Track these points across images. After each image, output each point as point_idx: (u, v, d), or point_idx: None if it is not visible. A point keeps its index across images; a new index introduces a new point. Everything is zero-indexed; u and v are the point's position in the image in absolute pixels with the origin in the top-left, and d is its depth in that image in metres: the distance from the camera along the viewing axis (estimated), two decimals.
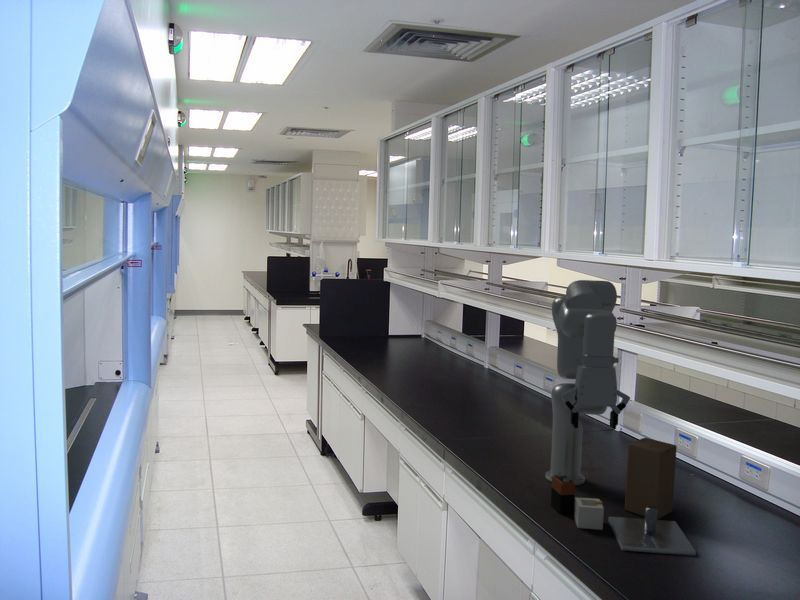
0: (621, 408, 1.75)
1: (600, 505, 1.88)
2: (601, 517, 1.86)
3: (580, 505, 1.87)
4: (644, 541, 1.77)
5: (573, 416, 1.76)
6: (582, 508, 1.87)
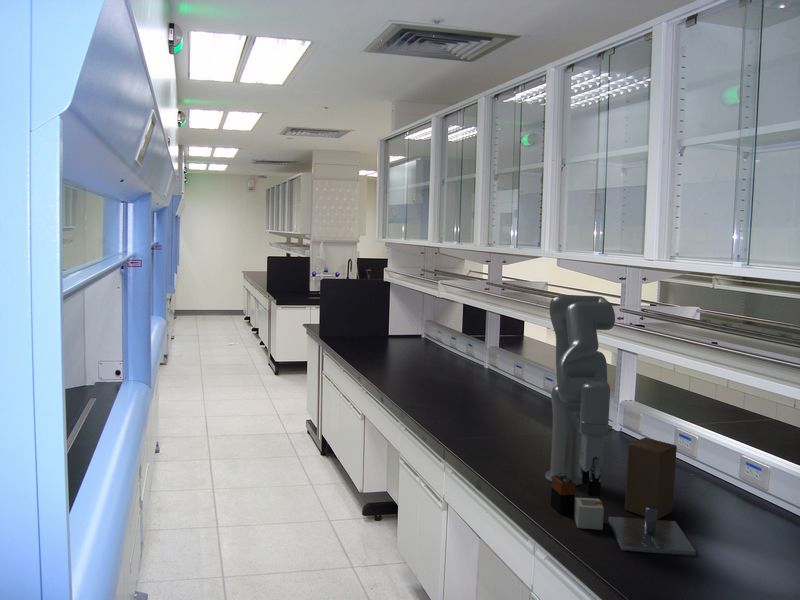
0: None
1: (600, 505, 1.88)
2: (601, 517, 1.86)
3: (580, 505, 1.87)
4: (644, 541, 1.77)
5: None
6: (582, 508, 1.87)
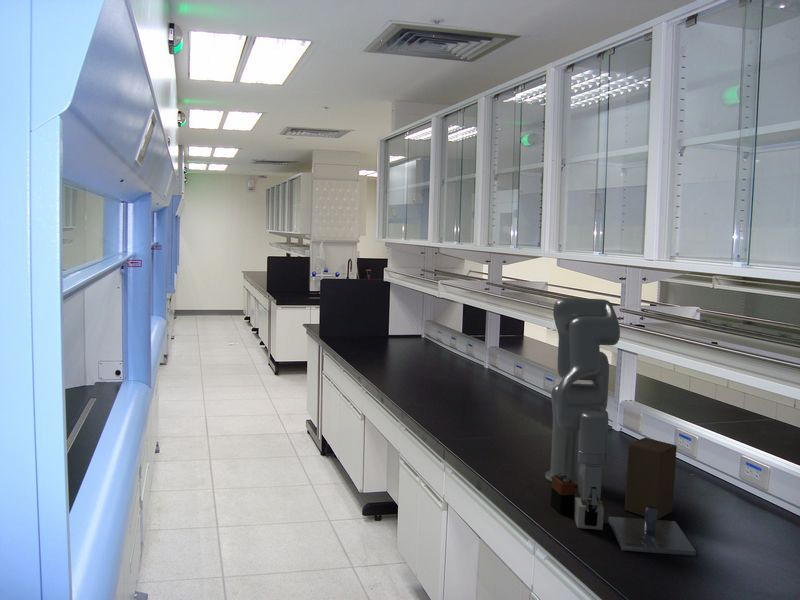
0: None
1: (600, 505, 1.88)
2: (601, 517, 1.86)
3: (580, 505, 1.87)
4: (644, 541, 1.77)
5: None
6: (582, 508, 1.87)
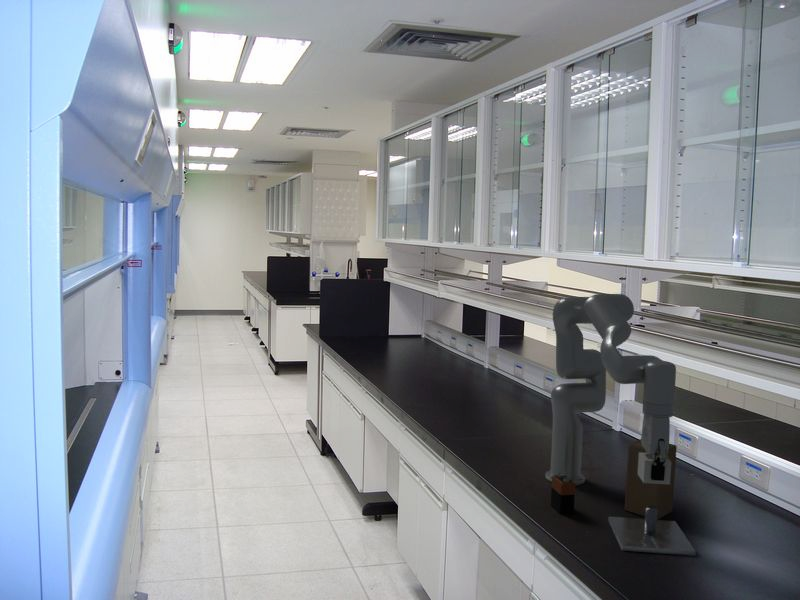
0: None
1: (667, 459, 1.79)
2: (668, 471, 1.77)
3: (646, 459, 1.78)
4: (644, 541, 1.77)
5: None
6: (648, 462, 1.77)
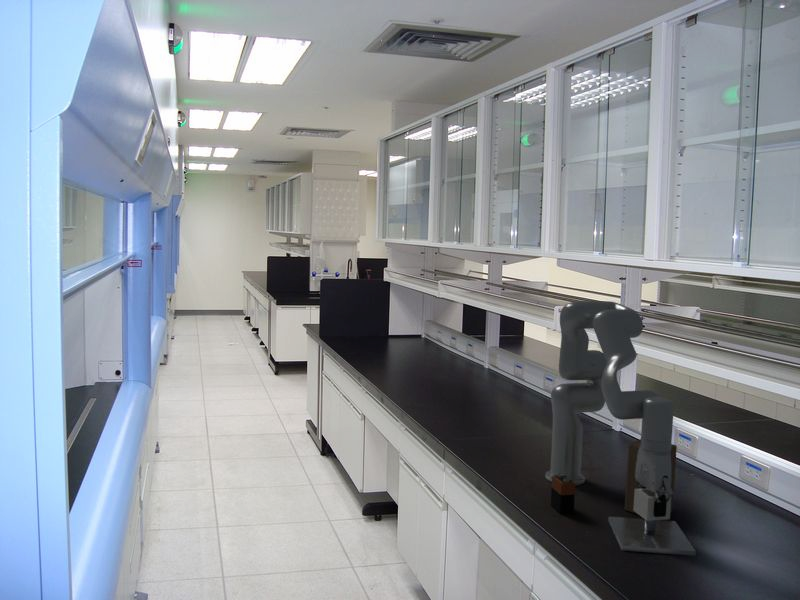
0: None
1: None
2: (669, 506, 1.79)
3: (648, 496, 1.78)
4: (644, 541, 1.77)
5: None
6: (651, 499, 1.78)
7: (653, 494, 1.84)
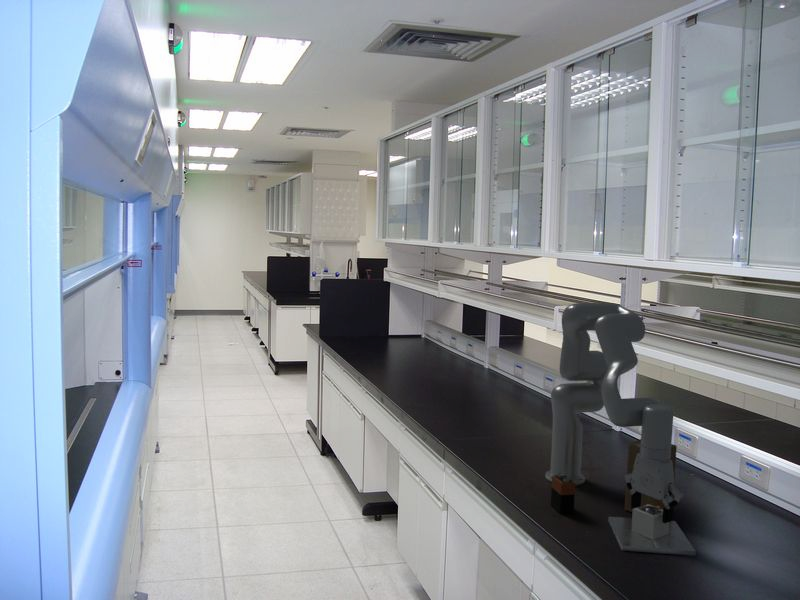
0: None
1: (662, 510, 1.82)
2: (668, 522, 1.81)
3: (652, 515, 1.79)
4: (644, 541, 1.77)
5: None
6: (656, 518, 1.78)
7: None
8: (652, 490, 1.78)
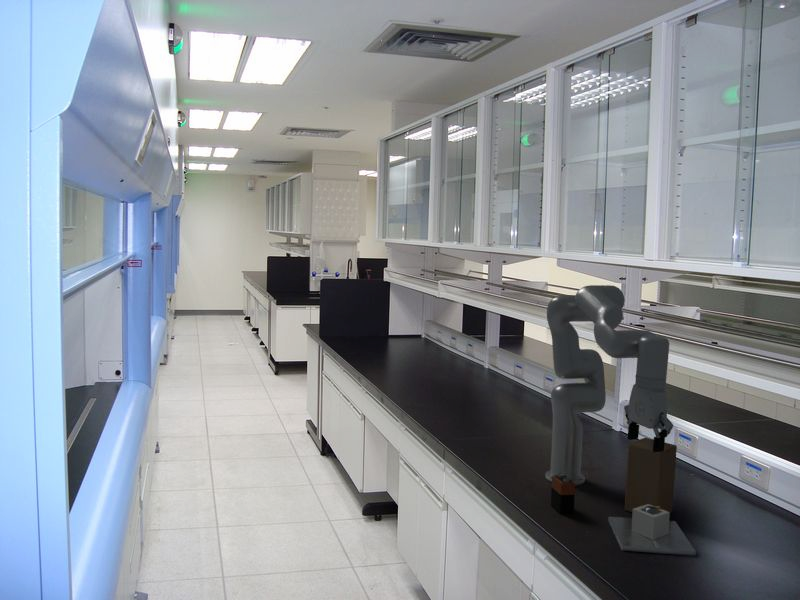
0: None
1: (662, 510, 1.82)
2: (668, 522, 1.81)
3: (652, 515, 1.79)
4: (644, 541, 1.77)
5: None
6: (656, 518, 1.78)
7: None
8: (644, 419, 1.79)
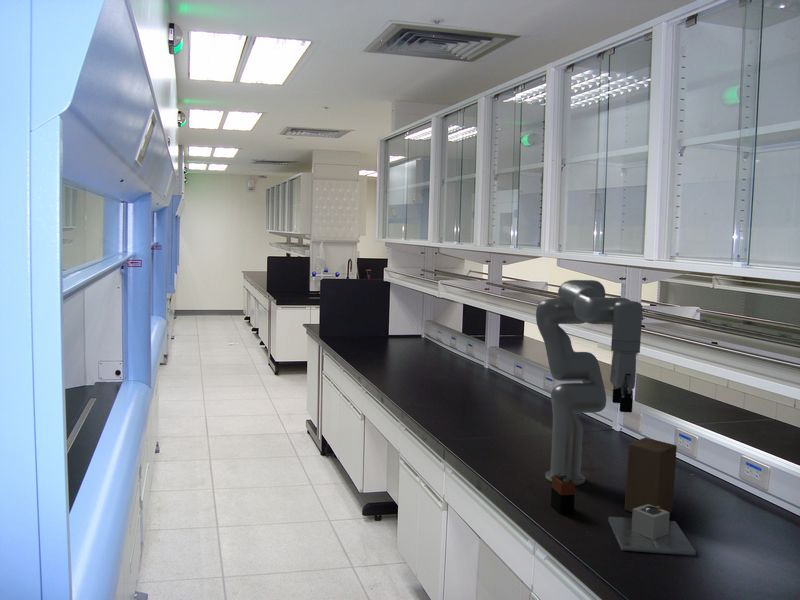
0: None
1: (662, 510, 1.82)
2: (668, 522, 1.81)
3: (652, 515, 1.79)
4: (644, 541, 1.77)
5: None
6: (656, 518, 1.78)
7: None
8: (614, 379, 1.87)
